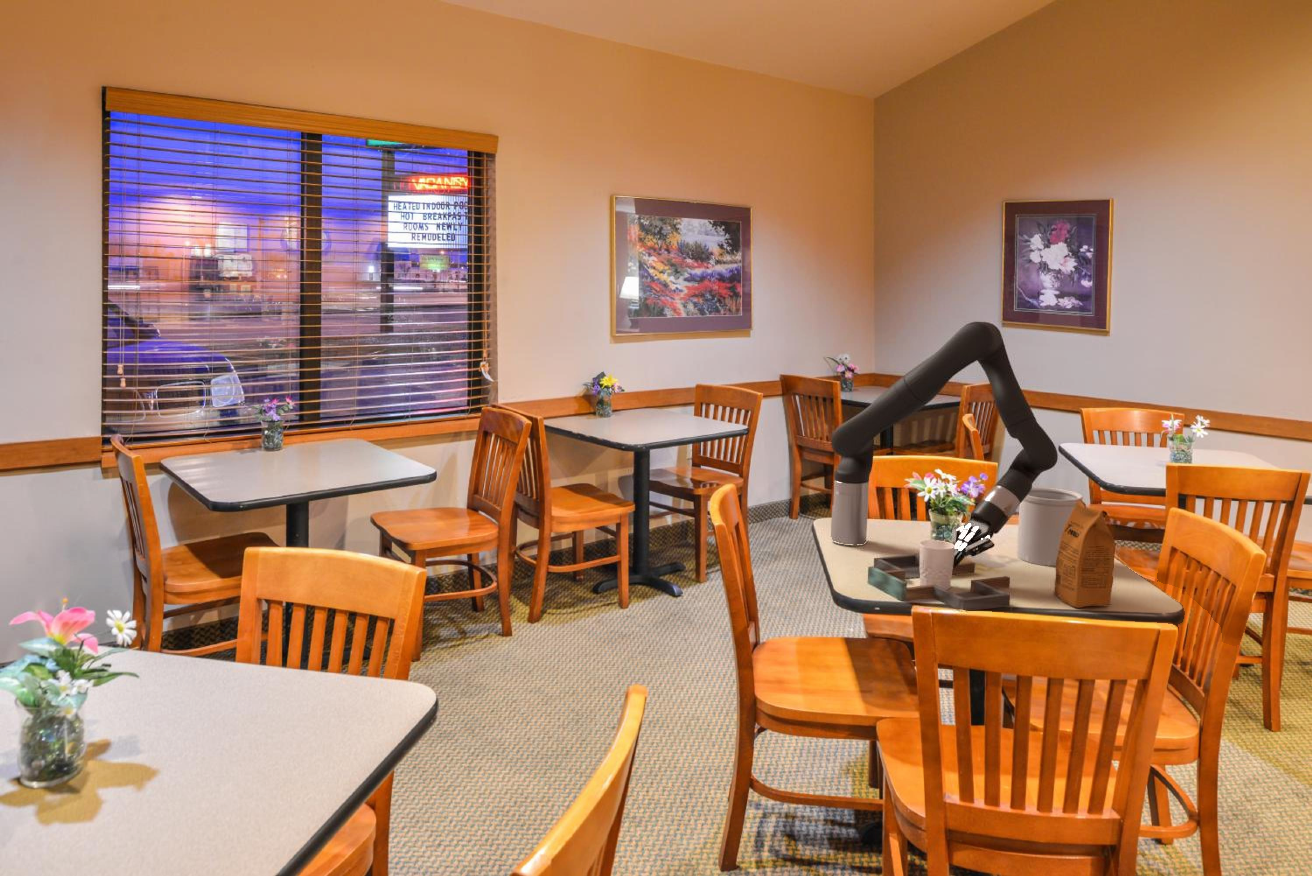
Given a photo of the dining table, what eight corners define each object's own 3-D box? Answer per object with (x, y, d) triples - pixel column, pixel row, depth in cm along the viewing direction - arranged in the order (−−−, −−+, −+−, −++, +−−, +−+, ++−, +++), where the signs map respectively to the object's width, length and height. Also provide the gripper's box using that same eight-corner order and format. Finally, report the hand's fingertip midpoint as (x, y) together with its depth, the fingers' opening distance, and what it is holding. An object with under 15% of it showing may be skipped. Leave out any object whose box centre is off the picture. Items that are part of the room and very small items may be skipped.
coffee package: (1090, 592, 210) (1098, 498, 206) (1116, 610, 197) (1125, 511, 194) (1047, 591, 210) (1054, 497, 207) (1069, 609, 198) (1077, 510, 194)
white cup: (927, 592, 208) (930, 550, 207) (911, 582, 216) (913, 540, 214) (959, 590, 210) (961, 548, 208) (941, 580, 217) (944, 539, 216)
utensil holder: (1087, 568, 229) (1093, 499, 226) (1027, 567, 229) (1032, 498, 226) (1062, 551, 243) (1067, 487, 241) (1006, 551, 244) (1010, 486, 241)
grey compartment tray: (844, 571, 224) (845, 555, 223) (944, 560, 234) (945, 545, 233) (929, 616, 192) (930, 597, 192) (1041, 601, 202) (1042, 584, 202)
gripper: (968, 493, 221) (923, 547, 218) (1006, 505, 208) (959, 562, 206) (984, 513, 223) (940, 566, 221) (1023, 525, 211) (977, 582, 209)
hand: (950, 564), depth 213 cm, fingers closed
